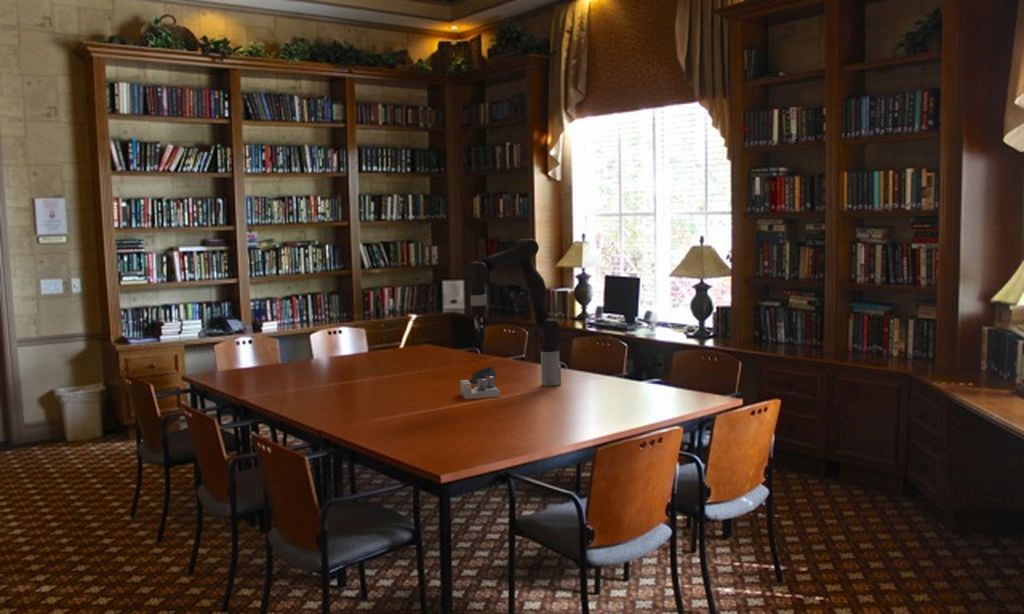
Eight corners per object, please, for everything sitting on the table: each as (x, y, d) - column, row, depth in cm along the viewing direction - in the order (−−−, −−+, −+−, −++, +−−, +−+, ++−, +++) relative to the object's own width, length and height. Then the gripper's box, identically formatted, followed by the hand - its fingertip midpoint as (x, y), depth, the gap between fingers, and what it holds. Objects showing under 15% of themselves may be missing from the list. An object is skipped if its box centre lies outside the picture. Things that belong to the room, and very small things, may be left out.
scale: (495, 391, 443) (494, 376, 442) (500, 396, 430) (499, 381, 429) (460, 394, 439) (460, 379, 438) (464, 399, 427) (464, 384, 426)
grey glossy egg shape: (493, 385, 441) (493, 375, 440) (495, 387, 436) (495, 377, 436) (484, 386, 440) (484, 376, 439) (486, 388, 436) (486, 377, 435)
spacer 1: (485, 388, 434) (485, 378, 433) (487, 390, 430) (486, 379, 429) (476, 389, 433) (476, 379, 433) (478, 391, 429) (477, 380, 428)
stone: (473, 388, 453) (472, 368, 452) (468, 386, 458) (467, 367, 457) (497, 385, 459) (497, 365, 458) (492, 383, 464) (492, 364, 463)
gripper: (489, 305, 421) (490, 339, 423) (483, 302, 435) (485, 335, 437) (473, 306, 420) (474, 340, 421) (468, 303, 433) (469, 336, 435)
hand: (480, 338), depth 429 cm, fingers open, 8 cm apart
